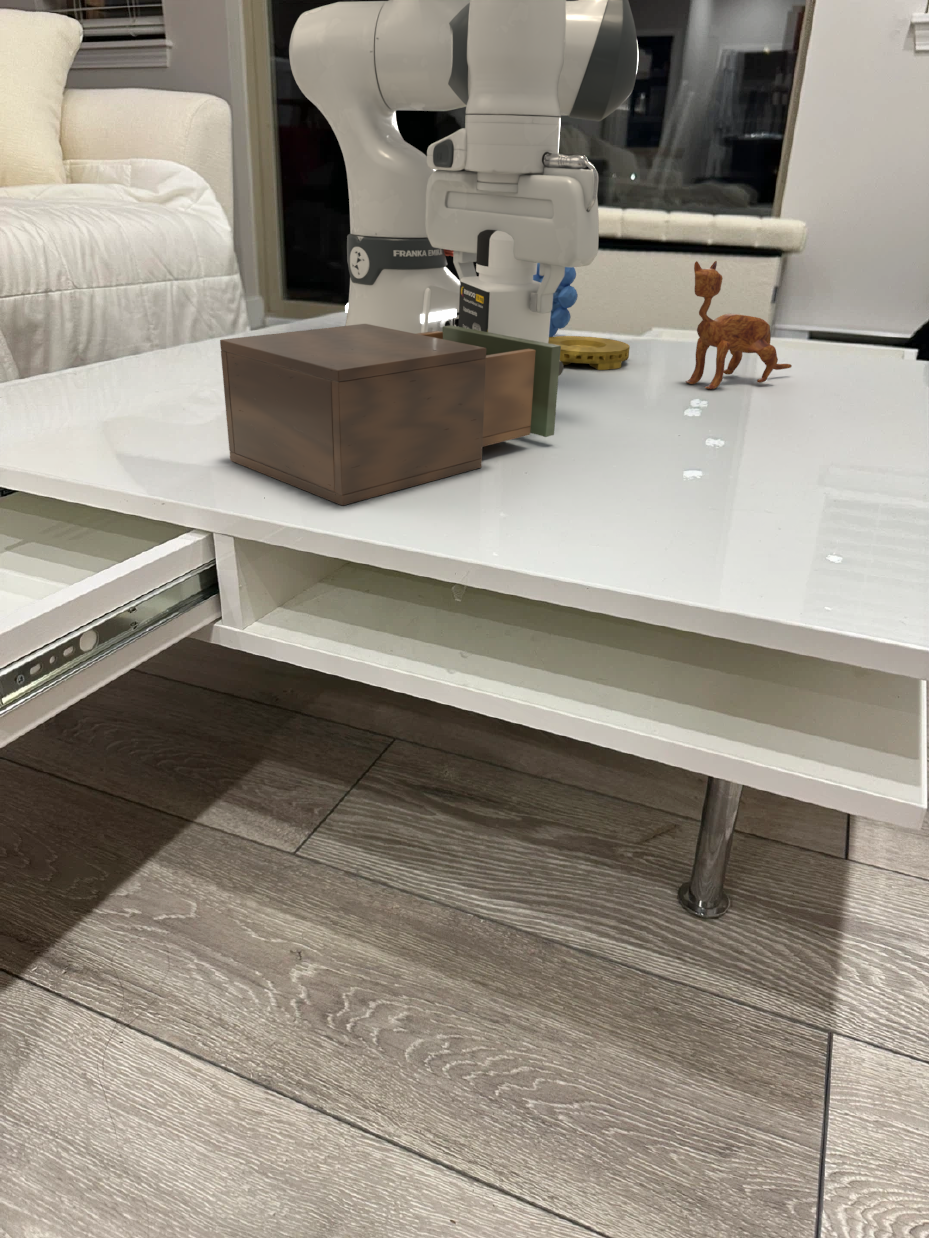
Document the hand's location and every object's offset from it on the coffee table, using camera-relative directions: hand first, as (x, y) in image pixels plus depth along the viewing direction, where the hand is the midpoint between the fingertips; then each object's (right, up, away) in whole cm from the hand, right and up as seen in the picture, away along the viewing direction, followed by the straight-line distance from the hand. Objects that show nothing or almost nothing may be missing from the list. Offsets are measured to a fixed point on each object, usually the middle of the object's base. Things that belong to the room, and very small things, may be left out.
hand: (504, 305), depth 91 cm
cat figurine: (+29, -3, +18) cm, 34 cm away
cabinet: (-13, -19, -17) cm, 29 cm away
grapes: (+9, +10, +43) cm, 45 cm away
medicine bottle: (0, -4, +2) cm, 5 cm away
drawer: (-4, -14, -9) cm, 18 cm away
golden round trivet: (+11, +2, +27) cm, 29 cm away
